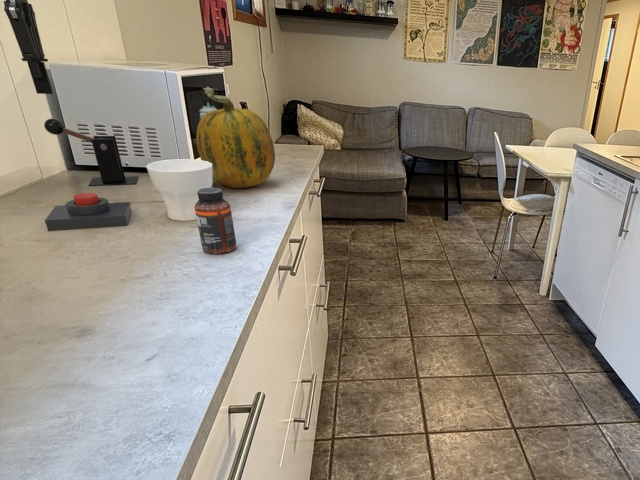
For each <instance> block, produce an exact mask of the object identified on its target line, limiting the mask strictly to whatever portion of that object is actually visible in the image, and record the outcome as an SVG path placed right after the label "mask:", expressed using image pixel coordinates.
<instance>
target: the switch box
mask: <svg viewBox="0 0 640 480" xmlns="http://www.w3.org/2000/svg"><path fill="white" fill-rule="evenodd" d="M98 198H99V203H97V204H92V205H76V204H75V201H74V199H72V200H69V201H67V202H65V204H64V205H61V204H60V205H55V206H54V207H53V208H52V210H51V211H50V213H48V215H47V216H46V218H45V219H44V223H45V226H46V229H47V231H48V232H55V231H71V230H72V231H73V230H85V229H101V228H112V227H113V228H115V227H128V225H129V222H130V219H131V215H132V212H133V211H132V208H131V204H130V201H122V202H119V201H118V202H110V201H109V199H107V198H105V197H98Z"/></svg>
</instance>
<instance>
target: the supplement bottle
mask: <svg viewBox="0 0 640 480" xmlns="http://www.w3.org/2000/svg"><path fill="white" fill-rule="evenodd" d="M197 193H198V198H199V200H198V202H196V204H195V206H194V208H195V213H196V218H197V220H196V223H197V229H198V233H199V239H200V243H201V248H202V250H203V252H205V253H207V254H213V255H220V254H221V255H222V254H227V253H230V252H232V251H234V250H235V249H236V248H237V238H236V233H235V227H234V221H233V214H232V208H231V203H230V202H229V201H228V200H226V199H225V198H224V194H223V189H221V188H219V187H211V188H203V189H200V190H198V191H197Z"/></svg>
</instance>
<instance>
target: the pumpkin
mask: <svg viewBox="0 0 640 480" xmlns="http://www.w3.org/2000/svg"><path fill="white" fill-rule="evenodd" d="M202 89H203V90H204V94H205V95H207V97H208V98H209V99H210V100H211V101H214V102H217V103H220V104H221V103H222V105H223V108H220V109H217V110H214V111H211V112H209V113H207V114H206V115H204V116H203V118H202V119H201V120H200V119H199V122H198V125H197V128H196V134H195V136H196V137H195V138H196V139H195V141H196V147H197V152H198V155H199V158H200V160H203V161H208V162H210V163H212V180H213V181H215V182H216V183H218V184H219V185H221V186H223V187H226V188H233V189H245V188H251V187H254V186H258V185H261V184H262V183H264V182H265V181H267V179H269V177H270V176H271V173H272V171H273V169H274V166H275V164H276V163H275V161H276V152H275V151H276V150H275V145H274V142H273V139H272V136H271V132H270V130H269V127H268V126H267V124H266V122H265V121H264V119H263V118H262V117H261V116H260V115H259V114H257V113H256V112H255V111H253V110H250V109H247V108H236V107H235V106H234V103H233V102H232V100H231V99H230V98H229V97H228V96H226V95H217V94H214V92H215V91H214V89H213V88H211V87H209V86H206V87H203V88H202Z"/></svg>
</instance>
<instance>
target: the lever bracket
mask: <svg viewBox="0 0 640 480" xmlns="http://www.w3.org/2000/svg"><path fill="white" fill-rule="evenodd" d="M100 137H101V138H104V139H99V138H100ZM92 138H94V139H91V141H92V143H91V144H92V148H93V152H94V156H95V159H96V160H95V161H96V164H97V167H98V171H99V174H100V177H99V176H97V177H92V178H91V180H90V182H89V183H88V184H87V186H88V187H106V186H108V187H109V186H131V185H132V186H136V185H137V183H138V180H139V176H138V175H136V176H135V175H131V176H129V175H128V176H126V175H125V171H124V167H123V164H122V159H121V158H122V157H121V155H120V151H119V147H118V143H117V138H116V135H93V137H92Z"/></svg>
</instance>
